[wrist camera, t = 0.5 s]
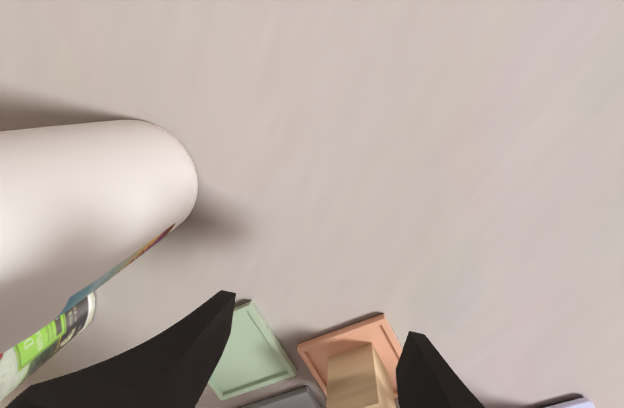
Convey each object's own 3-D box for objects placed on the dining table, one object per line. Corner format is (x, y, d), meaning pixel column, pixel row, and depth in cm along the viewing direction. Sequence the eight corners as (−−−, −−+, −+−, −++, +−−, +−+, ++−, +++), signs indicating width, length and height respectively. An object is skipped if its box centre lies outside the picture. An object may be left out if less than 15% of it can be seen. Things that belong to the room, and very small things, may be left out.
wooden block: (390, 377, 25) (402, 443, 20) (348, 390, 25) (350, 456, 21) (371, 342, 24) (378, 402, 19) (328, 357, 24) (325, 418, 20)
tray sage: (296, 369, 26) (295, 375, 25) (223, 394, 27) (221, 401, 27) (251, 300, 24) (249, 305, 23) (176, 331, 25) (172, 336, 25)
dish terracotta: (420, 383, 25) (422, 390, 24) (338, 408, 26) (338, 415, 26) (383, 313, 23) (384, 318, 23) (297, 344, 25) (296, 350, 24)
